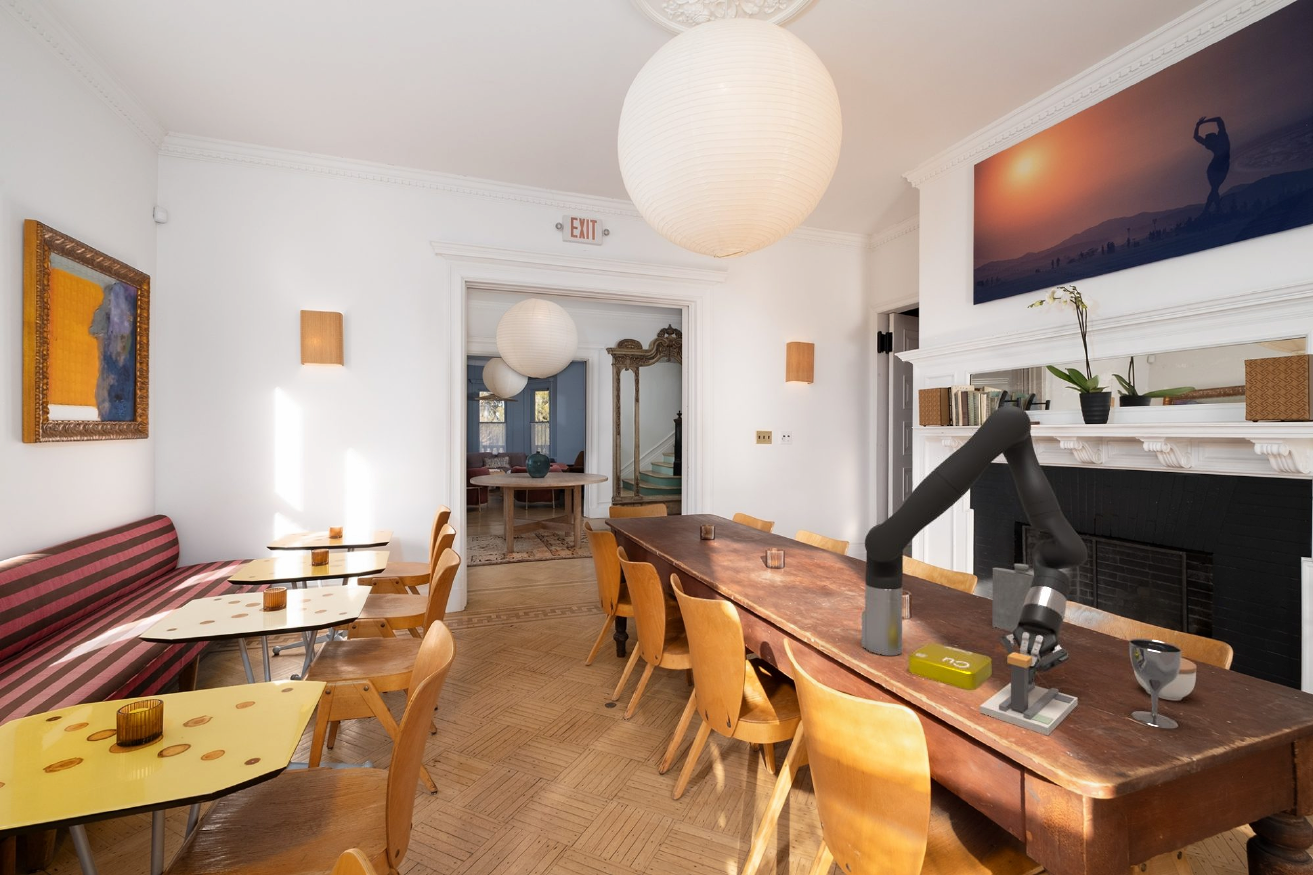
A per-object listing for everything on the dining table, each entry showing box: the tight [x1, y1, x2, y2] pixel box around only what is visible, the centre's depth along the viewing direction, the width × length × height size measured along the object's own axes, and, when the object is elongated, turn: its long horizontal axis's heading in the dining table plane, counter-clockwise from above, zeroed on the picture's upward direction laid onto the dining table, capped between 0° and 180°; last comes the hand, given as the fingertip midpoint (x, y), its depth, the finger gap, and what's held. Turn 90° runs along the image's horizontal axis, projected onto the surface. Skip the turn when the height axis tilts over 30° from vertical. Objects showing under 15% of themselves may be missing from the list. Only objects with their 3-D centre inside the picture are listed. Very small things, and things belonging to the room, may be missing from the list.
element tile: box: [908, 642, 993, 691], centre depth 141 cm, size 15×15×5 cm
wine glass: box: [1129, 638, 1182, 730], centre depth 118 cm, size 8×8×15 cm
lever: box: [1006, 652, 1032, 713], centre depth 118 cm, size 3×3×11 cm
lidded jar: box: [1133, 657, 1198, 701], centre depth 130 cm, size 11×11×9 cm
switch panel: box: [979, 681, 1079, 736], centre depth 122 cm, size 12×20×2 cm, turn 131°
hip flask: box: [991, 563, 1034, 633], centre depth 171 cm, size 16×4×20 cm, turn 26°
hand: (1022, 683), depth 120 cm, fingers closed
